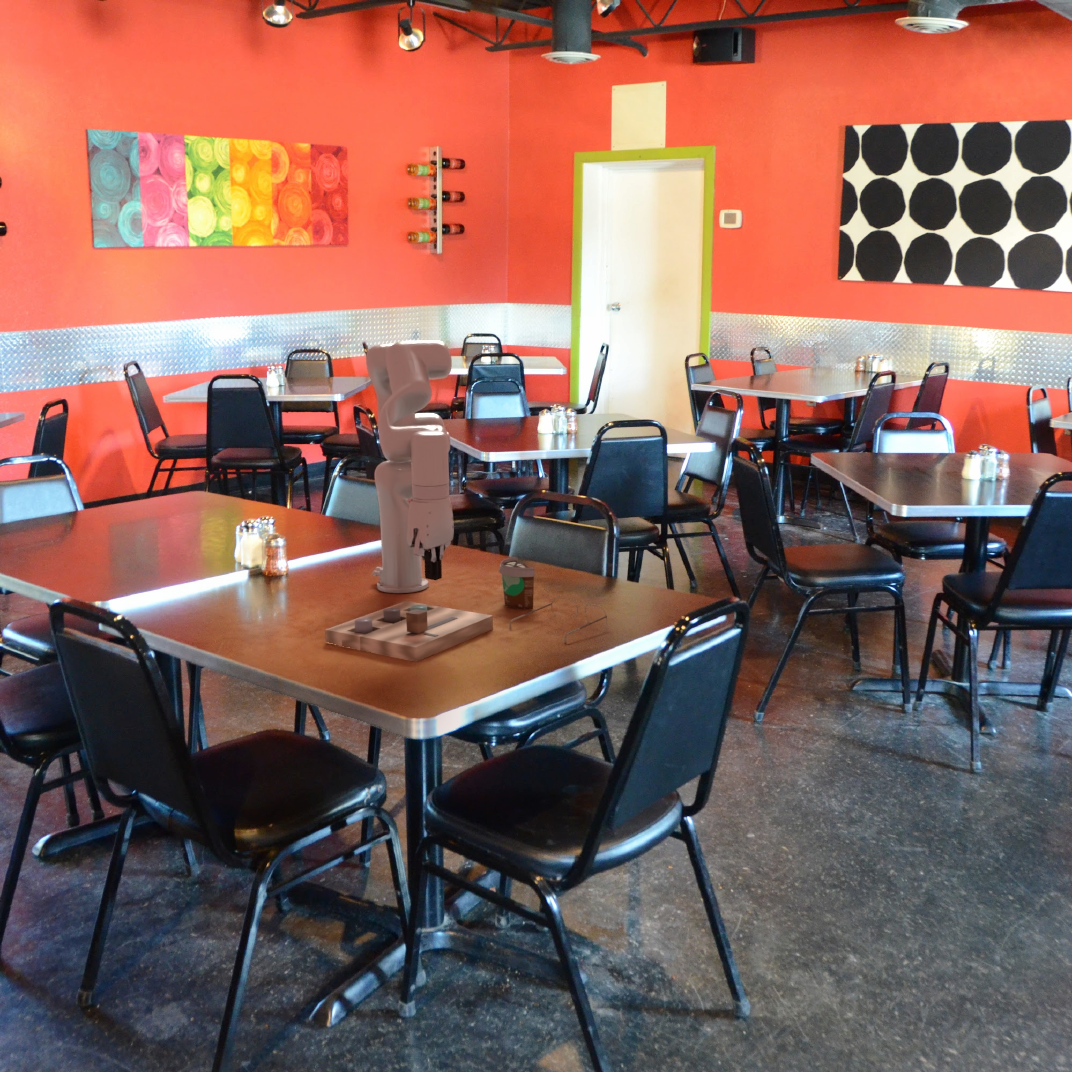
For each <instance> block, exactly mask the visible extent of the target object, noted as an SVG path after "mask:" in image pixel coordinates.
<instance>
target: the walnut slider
mask: <svg viewBox="0 0 1072 1072" xmlns="http://www.w3.org/2000/svg"><path fill="white" fill-rule="evenodd" d="M406 621H407V632H412V633H417V634H419V633H421V632H424V631H426V630H428V625H427V611H423V610H418V609H415V610H412V611H409V612H406Z"/></svg>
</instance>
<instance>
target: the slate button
mask: <svg viewBox="0 0 1072 1072" xmlns="http://www.w3.org/2000/svg"><path fill="white" fill-rule="evenodd" d="M358 618H359V617H358ZM355 619H356V618H355ZM370 632H373V628H372V619H370V618H359V619H356V620H355V633H360V634H367V633H370Z"/></svg>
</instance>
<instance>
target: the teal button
mask: <svg viewBox="0 0 1072 1072" xmlns="http://www.w3.org/2000/svg"><path fill="white" fill-rule="evenodd" d="M415 609H418V610H423V611H427V606H426V605H414V606H411V611H412V610H415Z"/></svg>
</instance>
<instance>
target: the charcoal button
mask: <svg viewBox="0 0 1072 1072" xmlns="http://www.w3.org/2000/svg"><path fill="white" fill-rule="evenodd" d="M386 608H387V607H386ZM383 609H384V610H383V617H384V622H387V623H392V624H394V623H397V622H399V621H401V616H400V609H399V608H387V609H385V608H383Z"/></svg>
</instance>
